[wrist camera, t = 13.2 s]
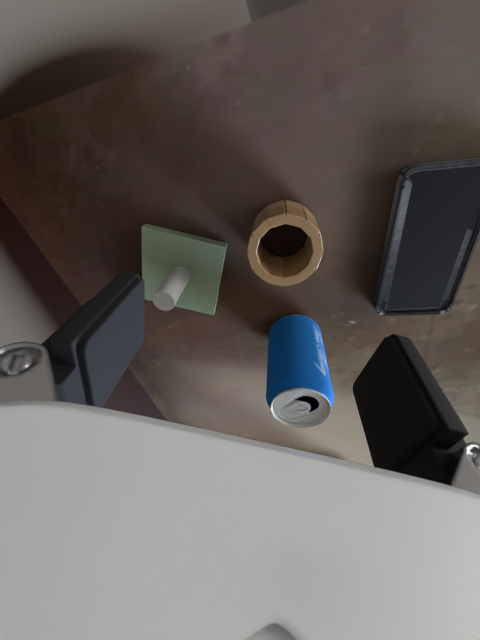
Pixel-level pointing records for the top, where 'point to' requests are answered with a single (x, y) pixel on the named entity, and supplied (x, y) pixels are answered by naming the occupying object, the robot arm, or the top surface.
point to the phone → (429, 237)
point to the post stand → (181, 269)
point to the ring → (290, 266)
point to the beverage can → (298, 373)
